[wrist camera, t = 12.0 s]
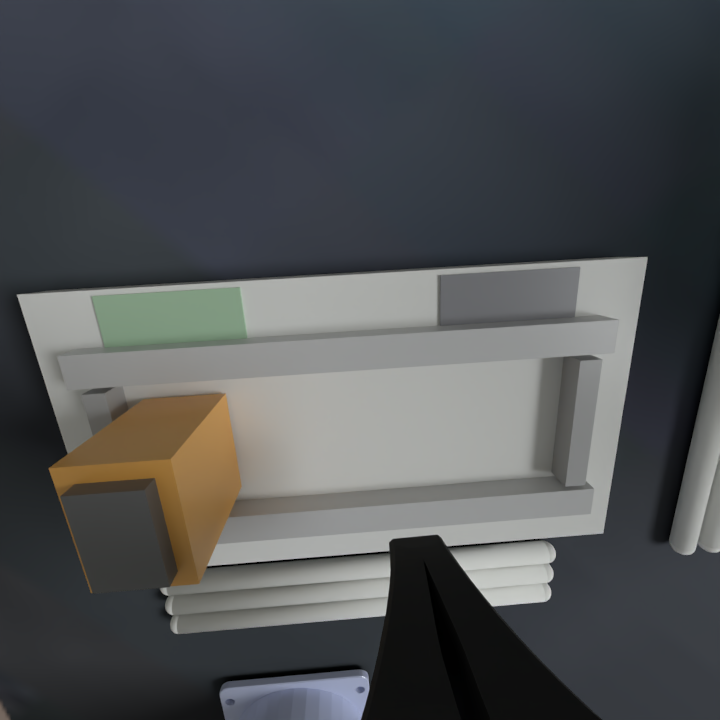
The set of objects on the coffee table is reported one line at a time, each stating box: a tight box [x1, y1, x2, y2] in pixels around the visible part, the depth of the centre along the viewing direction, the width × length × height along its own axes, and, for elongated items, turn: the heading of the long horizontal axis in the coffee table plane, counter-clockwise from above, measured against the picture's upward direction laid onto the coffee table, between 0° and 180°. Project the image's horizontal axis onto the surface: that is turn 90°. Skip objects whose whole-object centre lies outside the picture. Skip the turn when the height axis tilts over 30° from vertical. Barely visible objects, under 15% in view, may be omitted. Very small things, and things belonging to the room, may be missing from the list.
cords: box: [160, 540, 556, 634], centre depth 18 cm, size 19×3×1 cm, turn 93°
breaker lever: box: [49, 393, 242, 594], centre depth 12 cm, size 4×3×5 cm
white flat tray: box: [17, 257, 648, 566], centre depth 15 cm, size 12×22×2 cm, turn 93°
